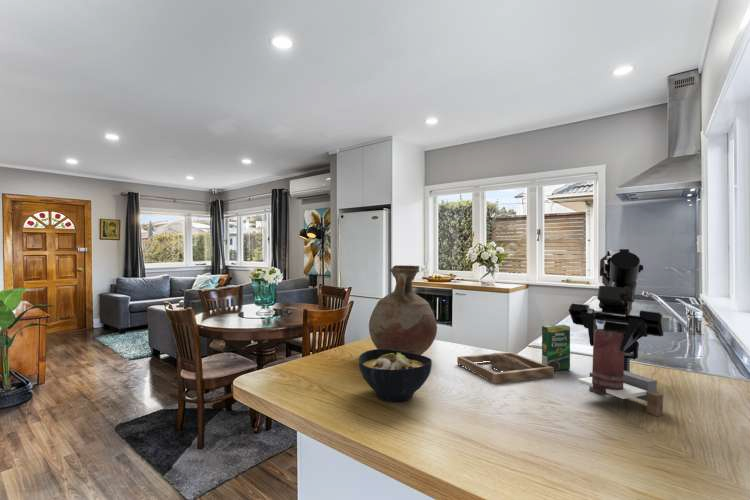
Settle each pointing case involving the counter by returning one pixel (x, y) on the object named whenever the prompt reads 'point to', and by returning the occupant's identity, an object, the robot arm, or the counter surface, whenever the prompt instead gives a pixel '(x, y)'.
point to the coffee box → (556, 346)
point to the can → (607, 361)
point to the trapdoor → (629, 386)
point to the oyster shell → (506, 363)
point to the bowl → (394, 373)
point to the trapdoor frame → (649, 402)
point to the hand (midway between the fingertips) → (606, 347)
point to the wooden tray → (500, 377)
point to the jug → (403, 317)
